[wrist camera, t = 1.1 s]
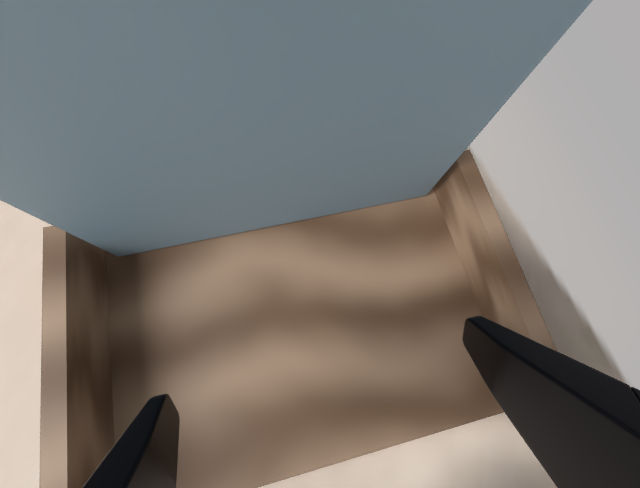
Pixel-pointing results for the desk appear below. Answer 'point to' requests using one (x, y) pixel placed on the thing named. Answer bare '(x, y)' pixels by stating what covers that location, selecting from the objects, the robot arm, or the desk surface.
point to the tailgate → (247, 106)
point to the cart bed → (280, 337)
